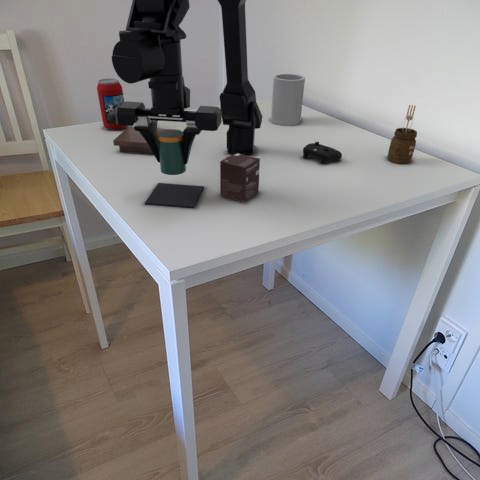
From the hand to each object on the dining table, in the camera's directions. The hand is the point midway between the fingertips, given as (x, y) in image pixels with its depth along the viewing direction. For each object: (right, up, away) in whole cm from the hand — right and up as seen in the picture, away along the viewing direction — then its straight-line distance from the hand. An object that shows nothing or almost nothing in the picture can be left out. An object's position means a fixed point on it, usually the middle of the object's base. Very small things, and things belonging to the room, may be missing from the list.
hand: (173, 162), depth 84 cm
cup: (+27, +30, +48) cm, 63 cm away
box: (+13, -5, +6) cm, 15 cm away
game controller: (+33, +9, +23) cm, 42 cm away
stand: (-10, +14, +27) cm, 32 cm away
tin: (0, -1, +1) cm, 2 cm away
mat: (0, -5, +4) cm, 7 cm away
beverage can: (-23, +24, +39) cm, 51 cm away
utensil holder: (+53, +9, +24) cm, 59 cm away
